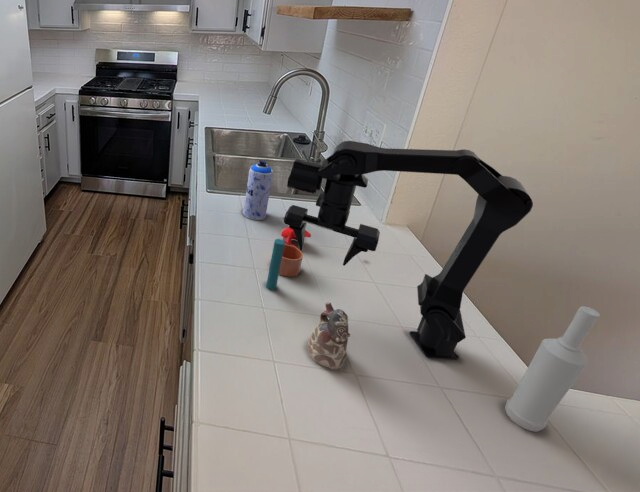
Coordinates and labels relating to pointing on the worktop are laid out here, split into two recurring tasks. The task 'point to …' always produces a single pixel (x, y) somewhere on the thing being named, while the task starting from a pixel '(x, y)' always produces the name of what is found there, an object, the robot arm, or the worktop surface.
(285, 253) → the tumbler
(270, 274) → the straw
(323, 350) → the figurine
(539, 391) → the bottle
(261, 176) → the aerosol can
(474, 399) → the worktop surface
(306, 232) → the red toy animal
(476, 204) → the robot arm
